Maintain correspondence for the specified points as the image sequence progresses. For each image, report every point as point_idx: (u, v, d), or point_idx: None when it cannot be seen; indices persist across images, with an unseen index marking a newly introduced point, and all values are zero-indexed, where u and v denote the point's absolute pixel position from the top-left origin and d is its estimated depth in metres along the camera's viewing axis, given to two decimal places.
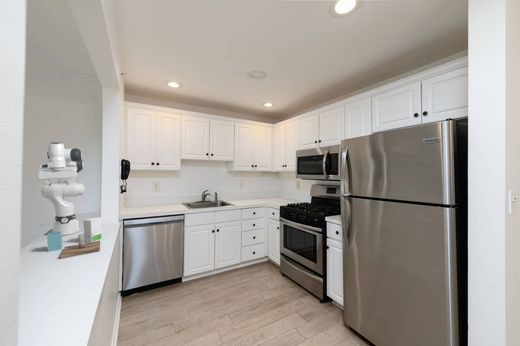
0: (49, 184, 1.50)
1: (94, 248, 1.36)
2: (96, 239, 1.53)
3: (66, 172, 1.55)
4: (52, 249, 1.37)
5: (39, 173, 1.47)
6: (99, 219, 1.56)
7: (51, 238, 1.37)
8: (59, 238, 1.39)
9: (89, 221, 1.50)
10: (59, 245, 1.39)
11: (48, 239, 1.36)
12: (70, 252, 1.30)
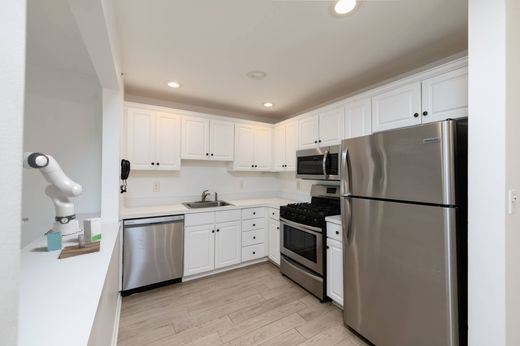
0: (25, 220, 1.36)
1: (94, 248, 1.36)
2: (96, 239, 1.53)
3: None
4: (52, 249, 1.37)
5: None
6: (99, 219, 1.56)
7: (51, 238, 1.37)
8: (59, 238, 1.39)
9: (89, 221, 1.50)
10: (59, 245, 1.39)
11: (48, 239, 1.36)
12: (70, 252, 1.30)
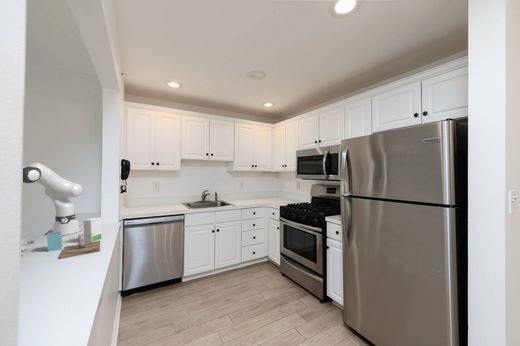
0: None
1: (94, 248, 1.36)
2: (96, 239, 1.53)
3: None
4: (52, 249, 1.37)
5: None
6: (99, 219, 1.56)
7: (51, 238, 1.37)
8: (59, 238, 1.39)
9: (89, 221, 1.50)
10: (59, 245, 1.39)
11: (48, 239, 1.36)
12: (70, 252, 1.30)
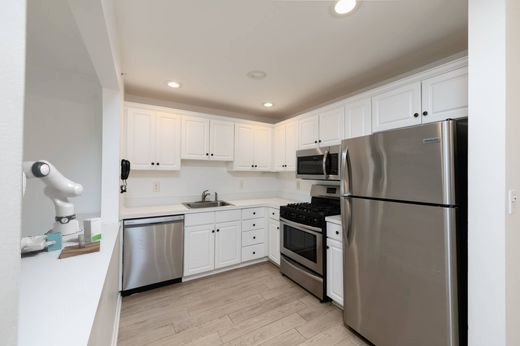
0: None
1: (94, 248, 1.36)
2: (96, 239, 1.53)
3: None
4: (52, 249, 1.37)
5: None
6: (99, 219, 1.56)
7: (51, 238, 1.37)
8: (59, 238, 1.39)
9: (89, 221, 1.50)
10: (59, 245, 1.39)
11: (48, 239, 1.36)
12: (70, 252, 1.30)
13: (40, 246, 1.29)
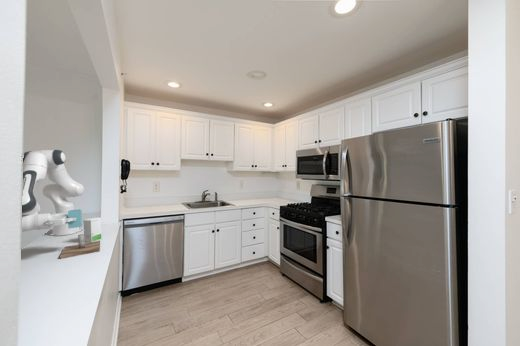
0: None
1: (94, 248, 1.36)
2: (96, 239, 1.53)
3: None
4: (72, 226, 1.34)
5: None
6: (99, 219, 1.56)
7: (72, 215, 1.34)
8: (79, 215, 1.36)
9: (89, 221, 1.50)
10: (79, 222, 1.36)
11: (69, 216, 1.33)
12: (70, 252, 1.30)
13: (62, 221, 1.26)
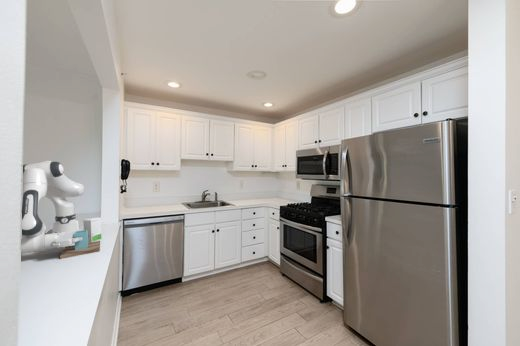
0: None
1: (94, 248, 1.36)
2: (96, 239, 1.53)
3: None
4: (79, 248, 1.35)
5: None
6: (99, 219, 1.56)
7: (78, 236, 1.34)
8: (86, 237, 1.37)
9: (89, 221, 1.50)
10: (86, 244, 1.37)
11: (75, 237, 1.34)
12: (70, 252, 1.30)
13: (68, 242, 1.26)
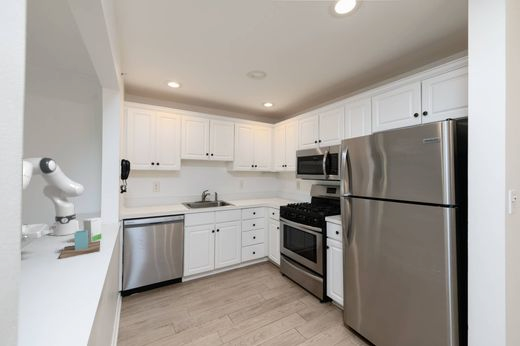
0: None
1: (94, 248, 1.36)
2: (96, 239, 1.53)
3: None
4: (79, 248, 1.35)
5: None
6: (99, 219, 1.56)
7: (78, 236, 1.34)
8: (86, 237, 1.37)
9: (89, 221, 1.50)
10: (86, 244, 1.37)
11: (75, 237, 1.34)
12: (70, 252, 1.30)
13: (36, 235, 1.19)
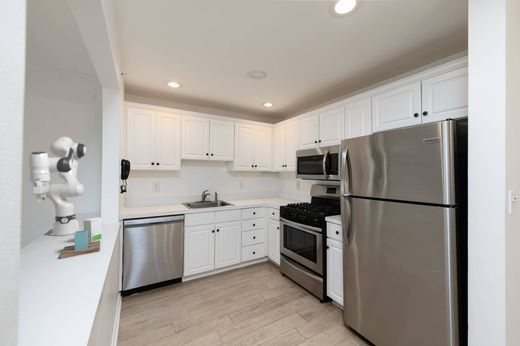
0: None
1: (94, 248, 1.36)
2: (96, 239, 1.53)
3: None
4: (79, 248, 1.35)
5: None
6: (99, 219, 1.56)
7: (78, 236, 1.34)
8: (86, 237, 1.37)
9: (89, 221, 1.50)
10: (86, 244, 1.37)
11: (75, 237, 1.34)
12: (70, 252, 1.30)
13: (37, 193, 1.28)
